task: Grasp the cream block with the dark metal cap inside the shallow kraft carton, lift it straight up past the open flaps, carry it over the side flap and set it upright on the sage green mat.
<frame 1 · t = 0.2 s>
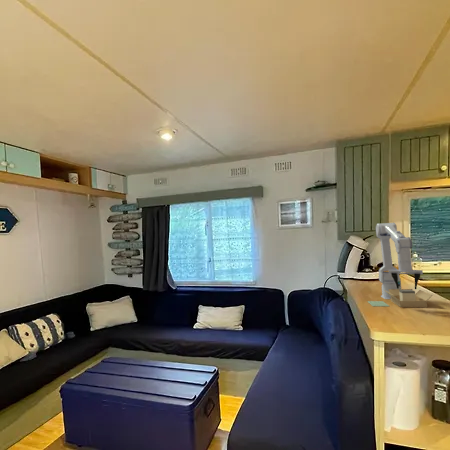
hand: (406, 288, 149), 10 cm above the table, tool pointing down, fingers open, 7 cm apart
carton: (408, 304, 156), on the table
light bulb box: (393, 295, 184), on the table
pad: (378, 304, 159), on the table
block: (407, 303, 156), resting on carton
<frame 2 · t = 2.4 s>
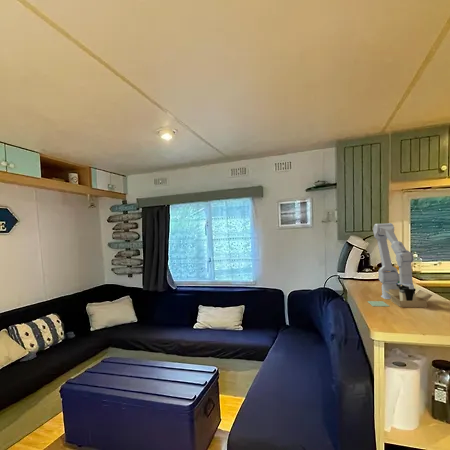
hand: (407, 300, 156), 2 cm above the table, tool pointing down, fingers closed on block, 4 cm apart
block: (407, 303, 156), resting on carton, touching gripper
everything else where it was.
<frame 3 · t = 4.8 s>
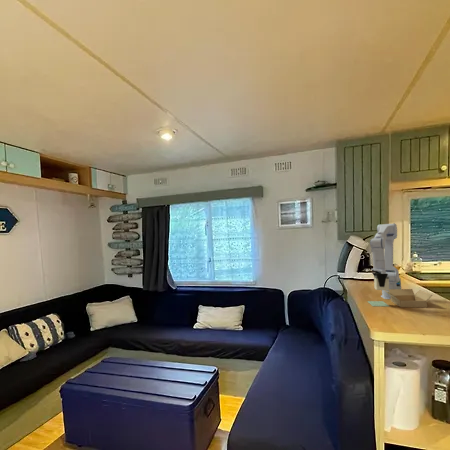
hand: (380, 285, 159), 10 cm above the table, tool pointing down, fingers closed on block, 4 cm apart
block: (381, 289, 159), point 8 cm above the table, touching gripper
everything else where it was.
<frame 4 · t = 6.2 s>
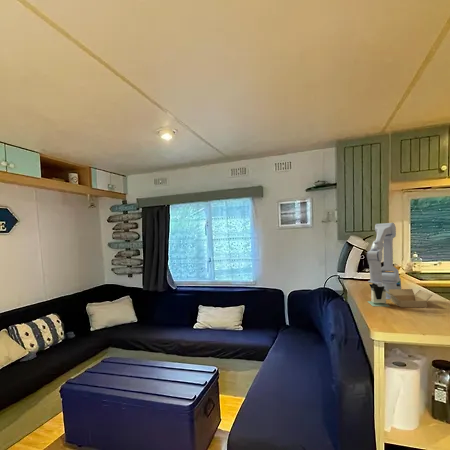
hand: (377, 298, 160), 3 cm above the table, tool pointing down, fingers closed on block, 4 cm apart
block: (378, 301, 159), point 1 cm above the table, touching gripper
everything else where it was.
when the fingers open (3 cm above the table, at t = 7.2 s): block stays where it is, resting on pad.
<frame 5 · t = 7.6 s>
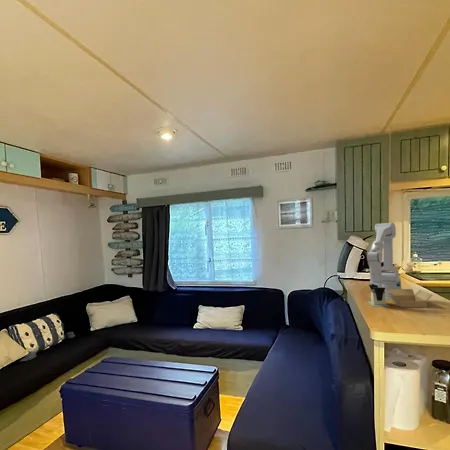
hand: (377, 299, 160), 3 cm above the table, tool pointing down, fingers open, 7 cm apart
block: (378, 303, 159), point 1 cm above the table, touching pad
everything else where it was.
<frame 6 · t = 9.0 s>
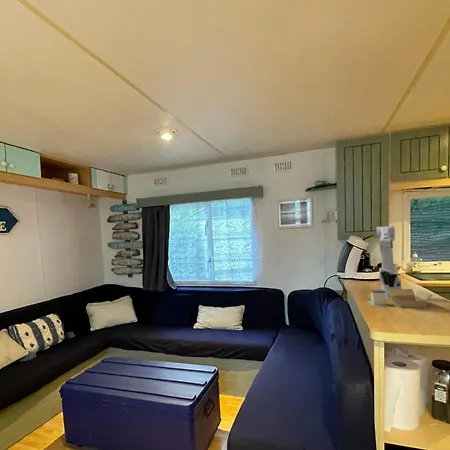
hand: (389, 285, 161), 9 cm above the table, tool pointing down, fingers open, 7 cm apart
nothing on the table moved.
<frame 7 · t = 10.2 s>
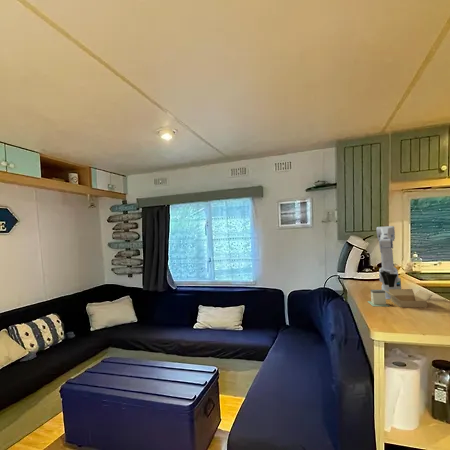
hand: (389, 285, 161), 9 cm above the table, tool pointing down, fingers open, 7 cm apart
nothing on the table moved.
at the end: block inside the target area on the pad (0.4 cm from its centre), point 0.6 cm above the pad's base; block tilted 0°; the gripper is holding nothing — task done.
